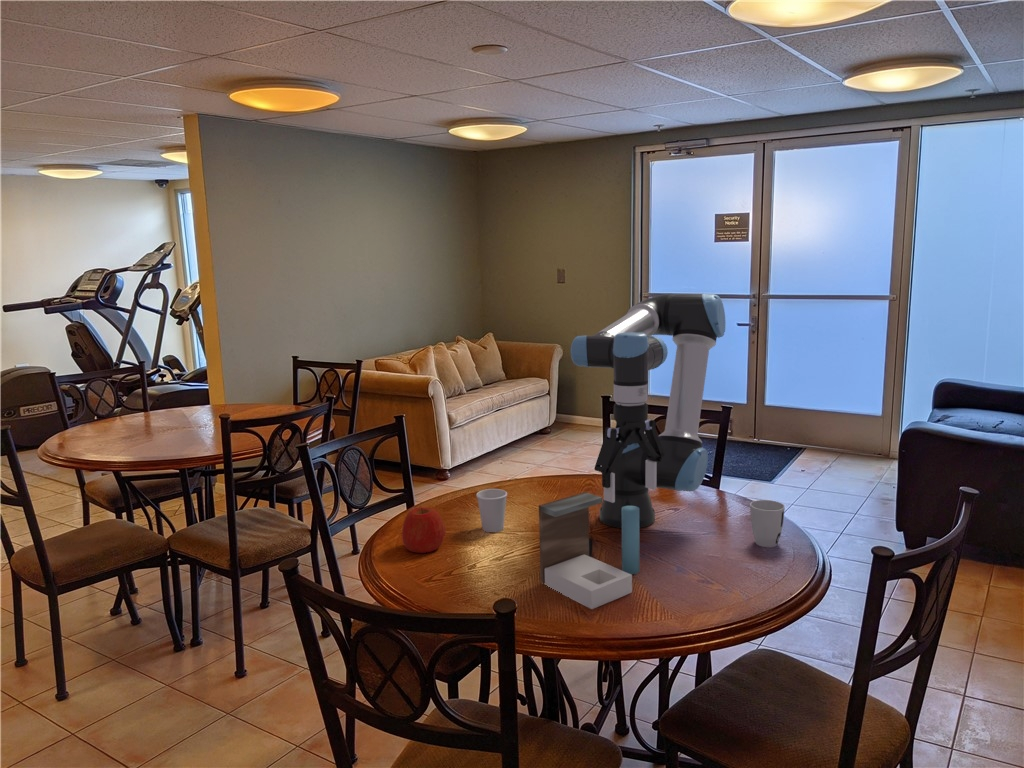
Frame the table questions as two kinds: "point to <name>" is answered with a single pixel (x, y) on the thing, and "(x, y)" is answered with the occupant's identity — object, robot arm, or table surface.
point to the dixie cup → (492, 509)
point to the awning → (564, 529)
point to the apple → (423, 530)
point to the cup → (767, 522)
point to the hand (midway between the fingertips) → (630, 494)
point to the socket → (588, 581)
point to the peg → (630, 539)
